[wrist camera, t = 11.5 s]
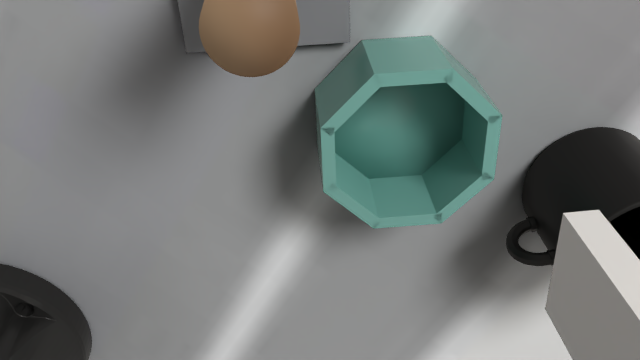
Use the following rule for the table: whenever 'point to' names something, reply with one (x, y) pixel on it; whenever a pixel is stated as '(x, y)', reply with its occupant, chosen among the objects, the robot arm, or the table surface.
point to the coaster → (314, 16)
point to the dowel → (249, 34)
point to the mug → (581, 189)
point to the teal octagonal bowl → (404, 133)
